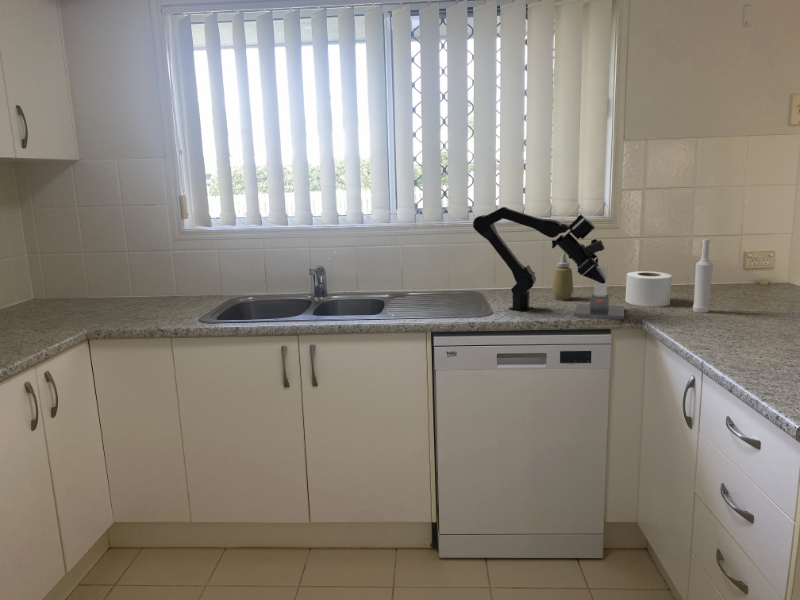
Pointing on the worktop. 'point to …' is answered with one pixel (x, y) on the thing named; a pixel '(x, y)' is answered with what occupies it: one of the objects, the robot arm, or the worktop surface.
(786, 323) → the worktop surface
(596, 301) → the stand
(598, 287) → the column
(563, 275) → the squeeze bottle
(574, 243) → the robot arm
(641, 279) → the white toilet paper roll
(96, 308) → the worktop surface
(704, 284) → the bottle
